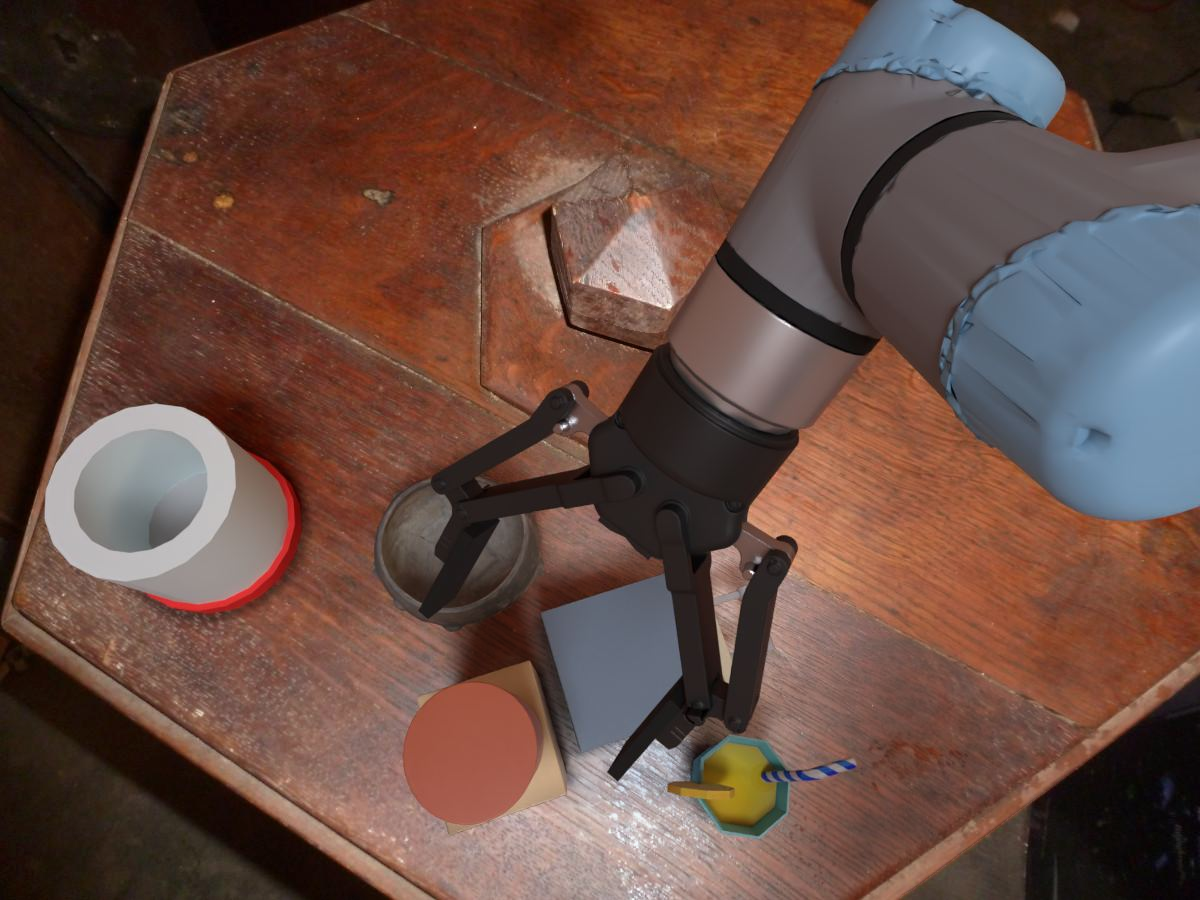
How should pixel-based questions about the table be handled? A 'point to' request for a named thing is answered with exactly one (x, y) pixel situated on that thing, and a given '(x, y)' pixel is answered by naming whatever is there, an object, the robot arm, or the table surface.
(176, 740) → the table surface
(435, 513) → the bowl
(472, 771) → the tea tin
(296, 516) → the container
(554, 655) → the cabinet
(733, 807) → the cup
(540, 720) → the stand
